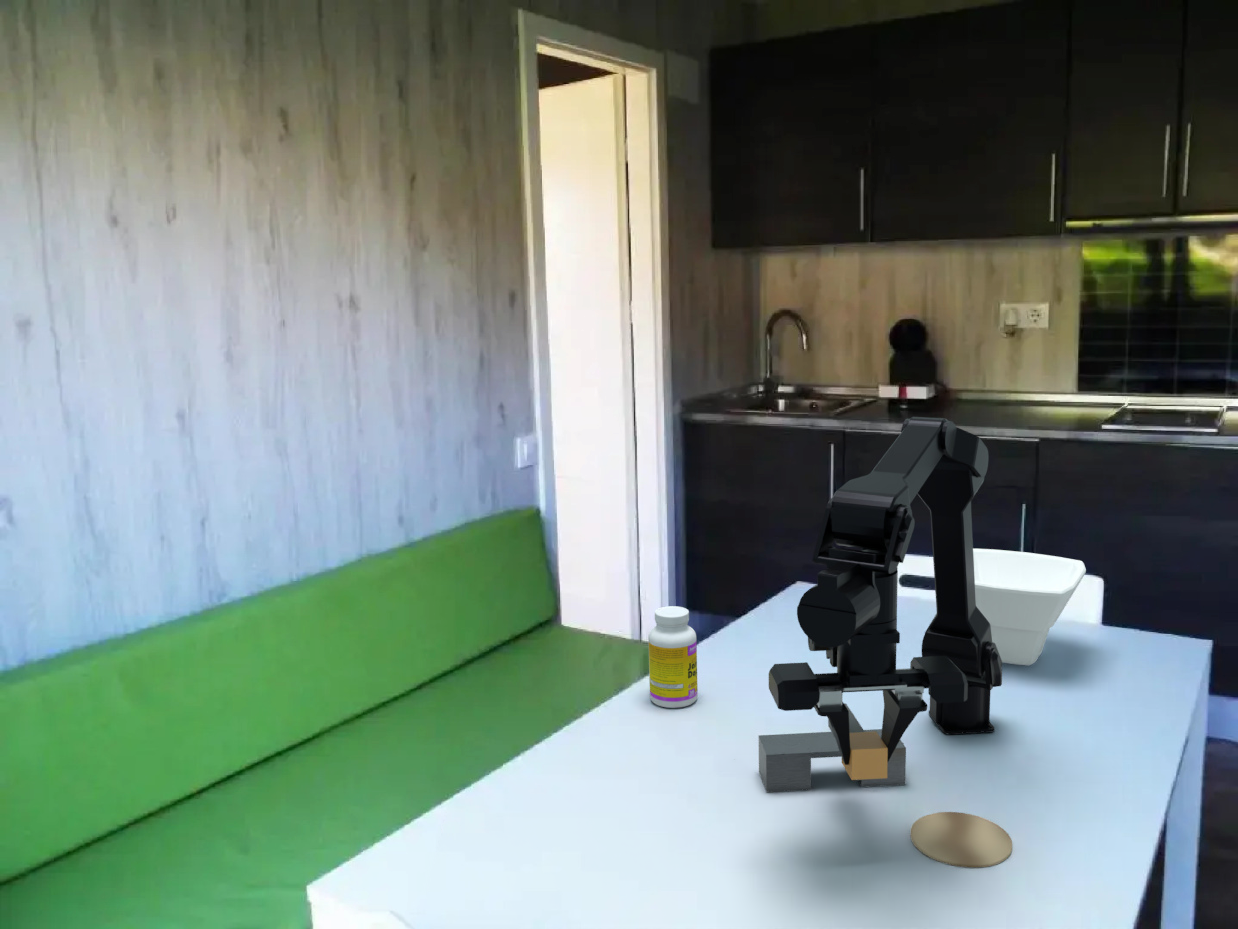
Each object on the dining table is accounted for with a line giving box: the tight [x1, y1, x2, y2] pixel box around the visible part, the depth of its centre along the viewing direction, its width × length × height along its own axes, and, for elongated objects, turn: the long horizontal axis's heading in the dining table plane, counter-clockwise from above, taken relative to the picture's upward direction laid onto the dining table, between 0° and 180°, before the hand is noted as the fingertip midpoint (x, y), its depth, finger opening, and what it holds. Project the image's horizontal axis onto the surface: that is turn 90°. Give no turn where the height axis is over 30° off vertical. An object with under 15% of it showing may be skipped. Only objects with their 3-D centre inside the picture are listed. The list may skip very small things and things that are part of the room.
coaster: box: [909, 811, 1013, 869], centre depth 109 cm, size 10×10×1 cm
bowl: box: [973, 547, 1087, 666], centre depth 156 cm, size 19×19×14 cm
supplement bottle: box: [647, 605, 698, 709], centre depth 145 cm, size 7×7×13 cm
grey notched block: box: [758, 728, 907, 793], centre depth 122 cm, size 16×5×5 cm, turn 92°
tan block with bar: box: [827, 702, 888, 781], centre depth 111 cm, size 4×13×3 cm, turn 3°
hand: (865, 762), depth 107 cm, fingers closed on tan block with bar, 4 cm apart
